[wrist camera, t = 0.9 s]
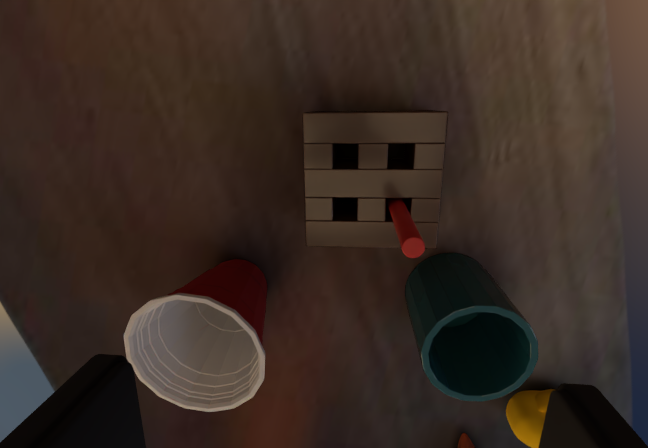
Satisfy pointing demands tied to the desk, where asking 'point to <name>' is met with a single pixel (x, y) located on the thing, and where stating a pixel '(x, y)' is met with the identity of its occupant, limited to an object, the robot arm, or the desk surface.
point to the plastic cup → (203, 339)
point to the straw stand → (372, 175)
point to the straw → (405, 228)
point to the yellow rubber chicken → (465, 442)
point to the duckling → (528, 415)
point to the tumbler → (468, 329)
